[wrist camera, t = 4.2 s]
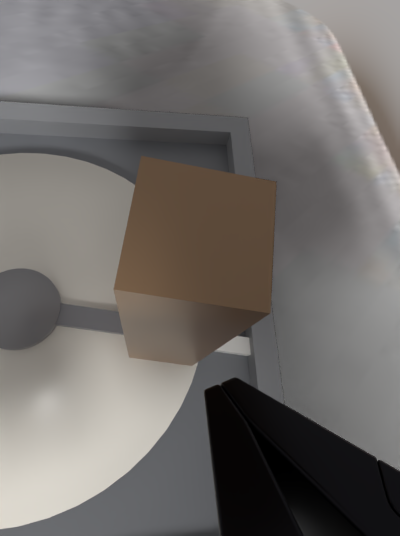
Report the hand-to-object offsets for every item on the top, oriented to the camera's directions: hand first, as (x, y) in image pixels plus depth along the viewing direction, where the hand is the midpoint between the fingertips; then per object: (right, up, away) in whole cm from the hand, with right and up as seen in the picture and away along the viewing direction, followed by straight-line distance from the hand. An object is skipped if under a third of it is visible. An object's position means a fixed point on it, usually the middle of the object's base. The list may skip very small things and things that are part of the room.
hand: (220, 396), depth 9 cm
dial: (-7, +1, +6) cm, 10 cm away
